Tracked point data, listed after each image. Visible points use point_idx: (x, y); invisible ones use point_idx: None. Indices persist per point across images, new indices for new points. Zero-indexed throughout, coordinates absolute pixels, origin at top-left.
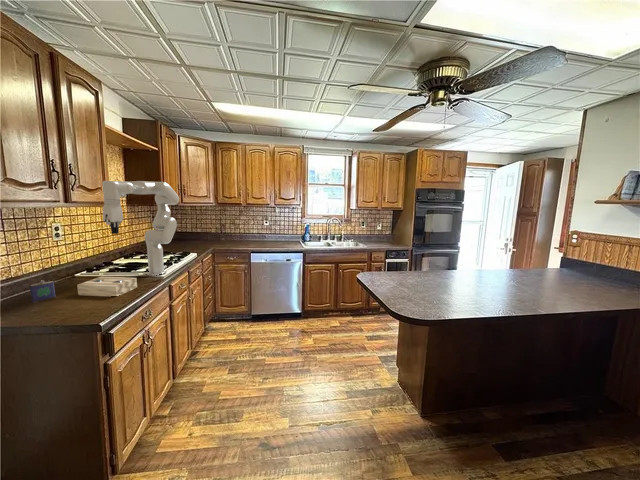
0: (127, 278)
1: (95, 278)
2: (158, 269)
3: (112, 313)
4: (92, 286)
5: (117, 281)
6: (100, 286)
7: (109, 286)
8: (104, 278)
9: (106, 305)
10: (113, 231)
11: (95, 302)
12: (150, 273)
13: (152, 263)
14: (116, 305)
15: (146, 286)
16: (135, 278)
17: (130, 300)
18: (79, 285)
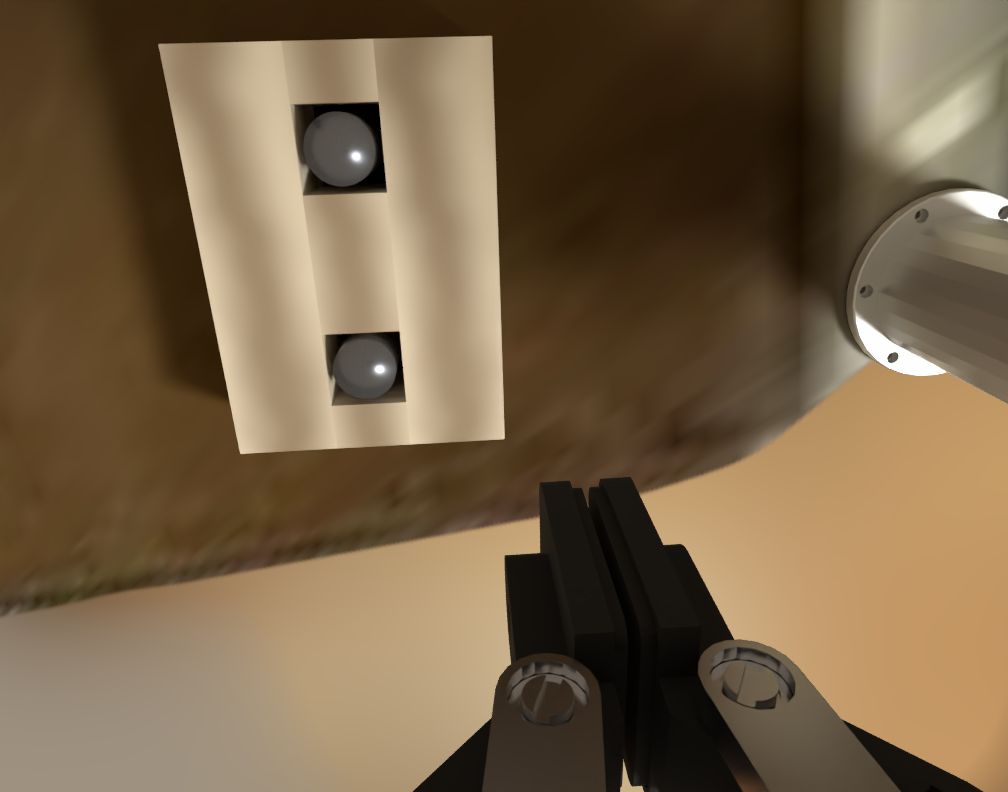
0: (472, 376)
1: (408, 39)
2: (917, 355)
3: (17, 599)
4: (199, 226)
5: (356, 369)
6: (215, 308)
7: (230, 394)
8: (428, 146)
9: (102, 473)
10: (508, 619)
11: (118, 356)
12: (886, 269)
13: (952, 332)
14: (126, 531)
15: (533, 452)
16: (491, 438)
17: (231, 548)
18: (167, 74)
